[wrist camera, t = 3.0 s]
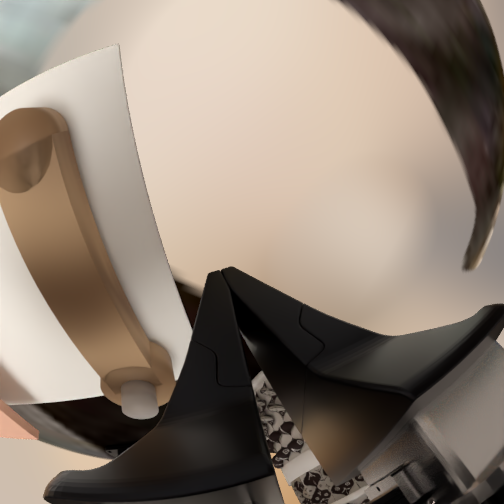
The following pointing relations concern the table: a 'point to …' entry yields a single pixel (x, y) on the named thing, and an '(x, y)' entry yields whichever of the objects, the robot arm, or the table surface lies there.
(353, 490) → the decorative candle
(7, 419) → the plate
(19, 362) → the board
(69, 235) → the link
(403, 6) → the table surface
